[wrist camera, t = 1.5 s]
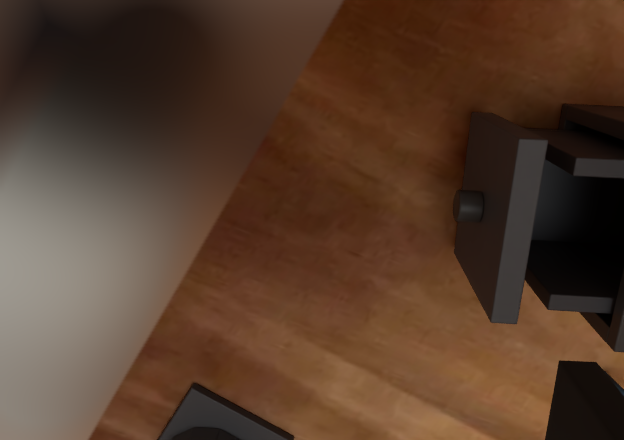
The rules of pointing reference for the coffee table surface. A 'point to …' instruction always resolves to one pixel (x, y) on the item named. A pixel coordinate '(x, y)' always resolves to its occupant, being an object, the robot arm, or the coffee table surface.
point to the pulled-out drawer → (540, 217)
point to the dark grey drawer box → (620, 325)
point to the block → (217, 420)
